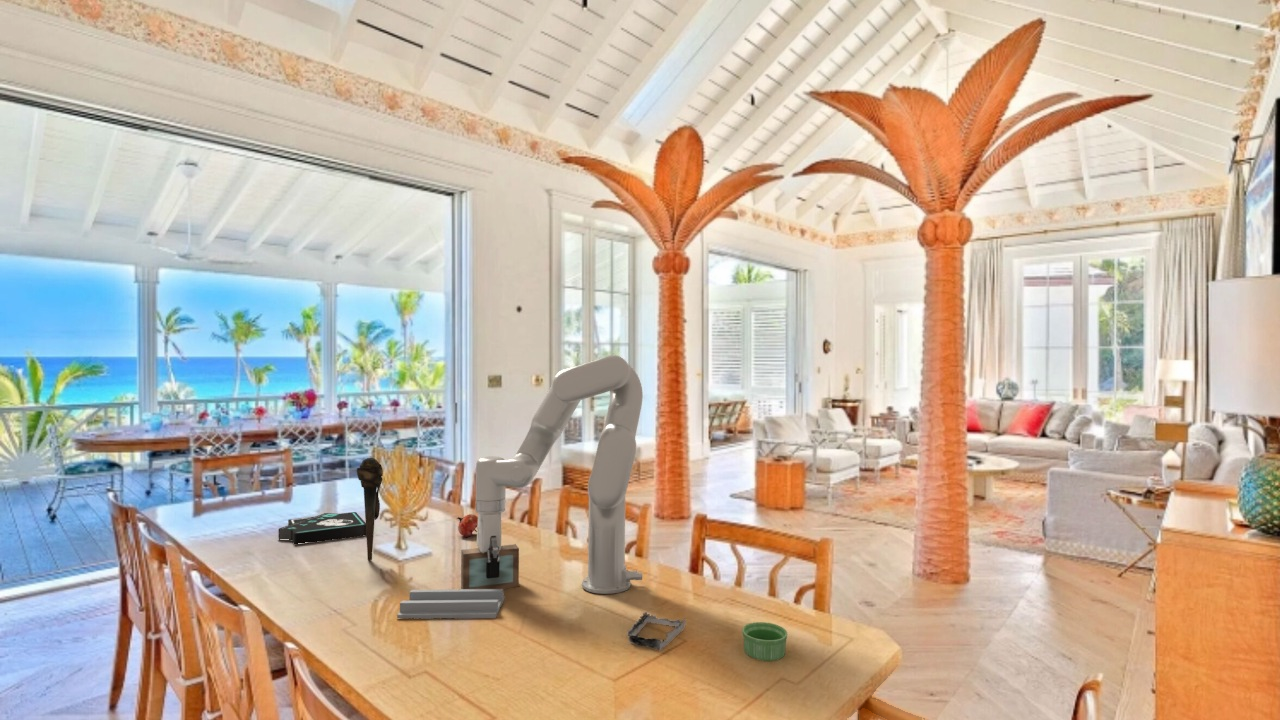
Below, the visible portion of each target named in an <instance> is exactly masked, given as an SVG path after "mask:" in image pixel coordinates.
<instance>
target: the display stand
mask: <svg viewBox="0 0 1280 720" xmlns="http://www.w3.org/2000/svg"><path fill="white" fill-rule="evenodd" d="M504 600H505V594H504V589H461V588H460V589H457V588H456V589H455V588H454V589H453V588H452V589H449V588H448V589H411V590H410V591H409V600H401V601H400V602H399V612H398V613H397V615H396V619H397V618H411V619H410V620H434V619H433V618H440V619H439V620H442V619H441V618H455V619H457V618H458V620H459V619H462V620H463V619H496V618H497V616H498V614H499V612H500V609H501V608H500V607H502V605H503V603H504ZM412 618H414V619H412ZM415 618H417V619H415ZM419 618H421V619H419ZM428 618H429V619H428ZM431 618H432V619H431Z"/></svg>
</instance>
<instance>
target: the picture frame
mask: <svg viewBox="0 0 1280 720" xmlns="http://www.w3.org/2000/svg"><path fill="white" fill-rule="evenodd" d="M519 549H520V548H519V546H518V545H517V544H516V543H515V544H506V545H505V544H504V545H501V550H500V551H499V561H500V567H499V577H497V578H489V579H487V578H486V562H488V560H487V552H484V553H481V551H480V550H479V548H478V547H476V548H468V549H467V548H466V549H465V548H464V549H460V551H461V553H460V554H461V555H460V556H461V557H460V559H461V563H460V565H461V567H460V569H461V570H460V571H461V572H460V589H503V590H504V589H510V588H518V587H519V586H520V585H519V582H520V581H519V579H520V576H519V575H520V574H519V573H520V571H519V569H520V566H519V565H520V550H519ZM489 550H491V549H489ZM491 554H492V553H491ZM491 554H490V555H491Z"/></svg>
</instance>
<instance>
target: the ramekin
mask: <svg viewBox="0 0 1280 720" xmlns="http://www.w3.org/2000/svg"><path fill="white" fill-rule="evenodd" d="M741 632H742V636H743V648H744V649H743V650H744V653H745V654H746V655H747V656H748V655H749V656H748V657H750V658H752V659H754V658H755V659H754V660H757V659H758V660H757V661H762V660H763V662H774V661H773V660H775V661H779V660H781V659H782V658H783V657H784V656H785V654H786V643H787V639H788V631H787V630H786V629H785V628H784V627H783V626H781V625H779V624H775V623H772V622H764V621H759V622H756V621H755V622H751V623H747V624H745V625H744V626H743V627H742V629H741Z"/></svg>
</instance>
